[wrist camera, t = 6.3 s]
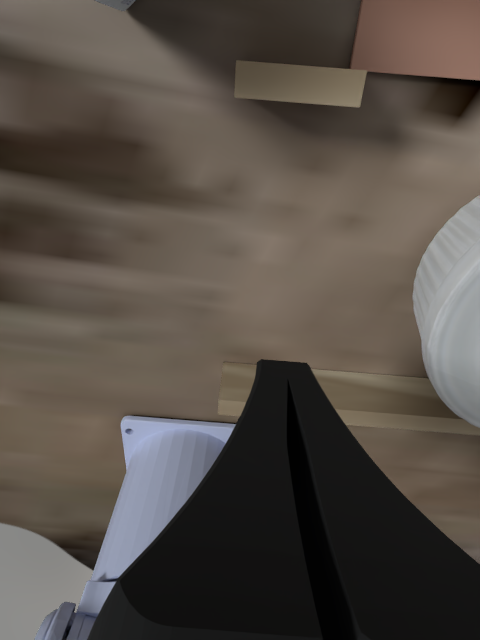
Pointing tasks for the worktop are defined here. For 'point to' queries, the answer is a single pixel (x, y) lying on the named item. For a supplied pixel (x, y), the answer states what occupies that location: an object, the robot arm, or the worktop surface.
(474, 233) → the ramekin
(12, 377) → the worktop surface
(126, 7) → the medicine box
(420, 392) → the lane
